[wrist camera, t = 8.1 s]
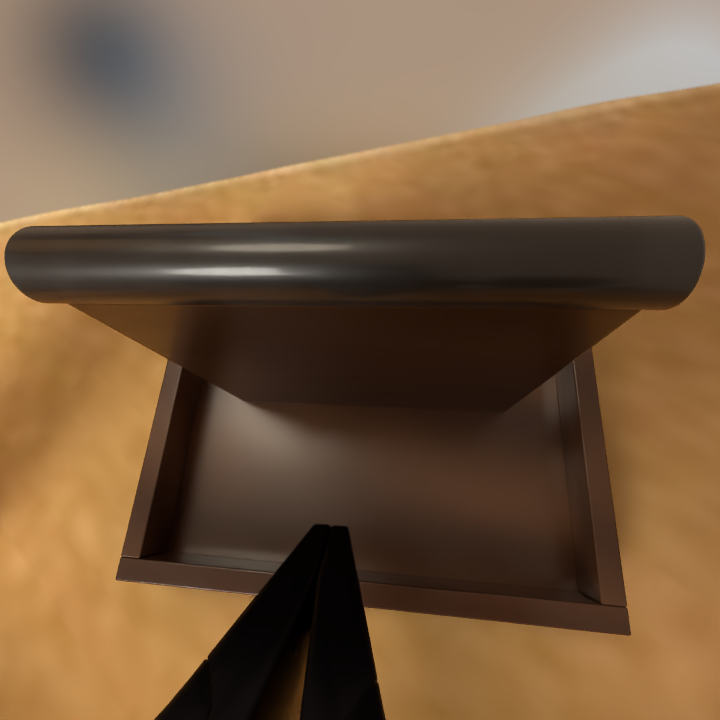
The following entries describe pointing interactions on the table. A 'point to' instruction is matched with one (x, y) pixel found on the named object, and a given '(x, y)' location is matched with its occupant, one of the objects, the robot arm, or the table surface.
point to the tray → (378, 398)
